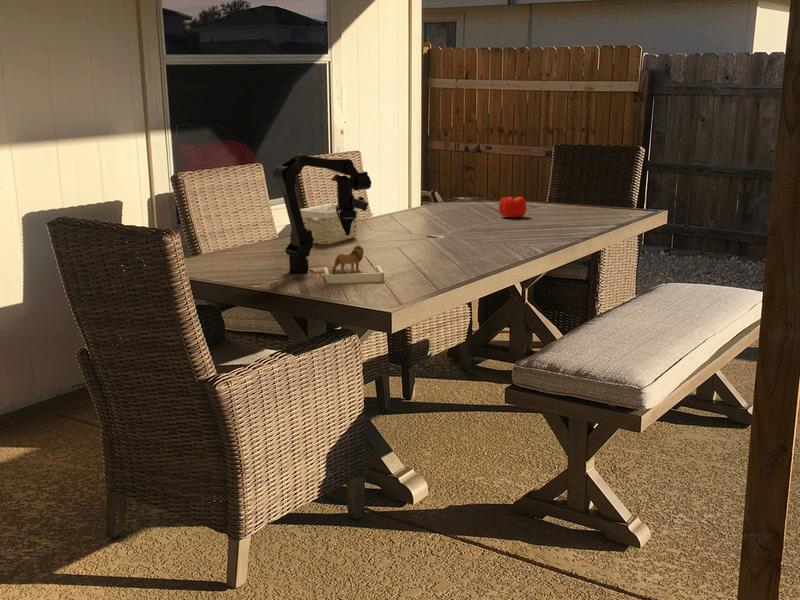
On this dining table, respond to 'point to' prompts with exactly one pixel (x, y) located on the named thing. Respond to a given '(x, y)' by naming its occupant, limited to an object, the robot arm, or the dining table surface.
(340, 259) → the lion figurine
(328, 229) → the storage basket
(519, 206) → the tomato
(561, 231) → the dining table surface
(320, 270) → the terracotta tile
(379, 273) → the frame
